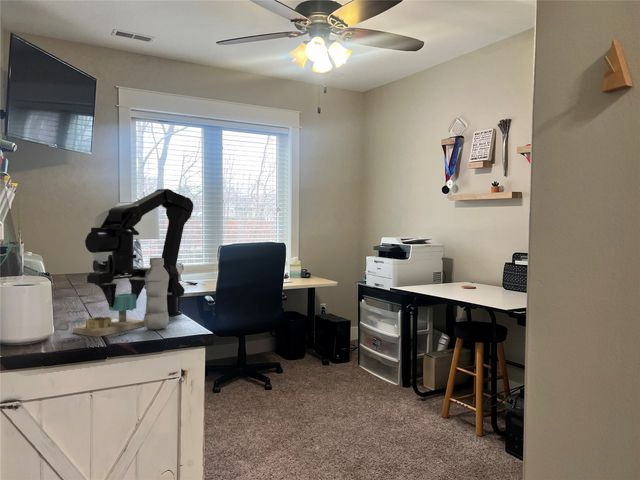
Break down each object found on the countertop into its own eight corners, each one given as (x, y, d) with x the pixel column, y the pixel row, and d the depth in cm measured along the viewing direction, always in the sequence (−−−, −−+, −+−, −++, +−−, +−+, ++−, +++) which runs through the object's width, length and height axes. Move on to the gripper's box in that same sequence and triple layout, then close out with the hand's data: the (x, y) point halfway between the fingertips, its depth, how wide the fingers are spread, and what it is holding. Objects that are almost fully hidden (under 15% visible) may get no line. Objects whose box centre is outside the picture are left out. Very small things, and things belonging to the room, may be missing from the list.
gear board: (123, 321, 137) (123, 302, 137) (146, 325, 132) (146, 305, 132) (72, 332, 123) (72, 310, 123) (96, 337, 118) (96, 314, 118)
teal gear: (124, 305, 136) (124, 292, 136) (141, 308, 132) (141, 294, 132) (103, 309, 129) (103, 295, 129) (120, 312, 126) (120, 297, 126)
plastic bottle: (143, 327, 130) (143, 257, 129) (168, 325, 132) (168, 257, 132) (144, 332, 124) (144, 259, 123) (170, 330, 126) (170, 259, 126)
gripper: (130, 248, 142) (130, 298, 143) (74, 251, 126) (74, 307, 126) (155, 250, 137) (155, 301, 138) (100, 253, 121) (100, 311, 121)
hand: (122, 305), depth 131 cm, fingers closed on teal gear, 7 cm apart
